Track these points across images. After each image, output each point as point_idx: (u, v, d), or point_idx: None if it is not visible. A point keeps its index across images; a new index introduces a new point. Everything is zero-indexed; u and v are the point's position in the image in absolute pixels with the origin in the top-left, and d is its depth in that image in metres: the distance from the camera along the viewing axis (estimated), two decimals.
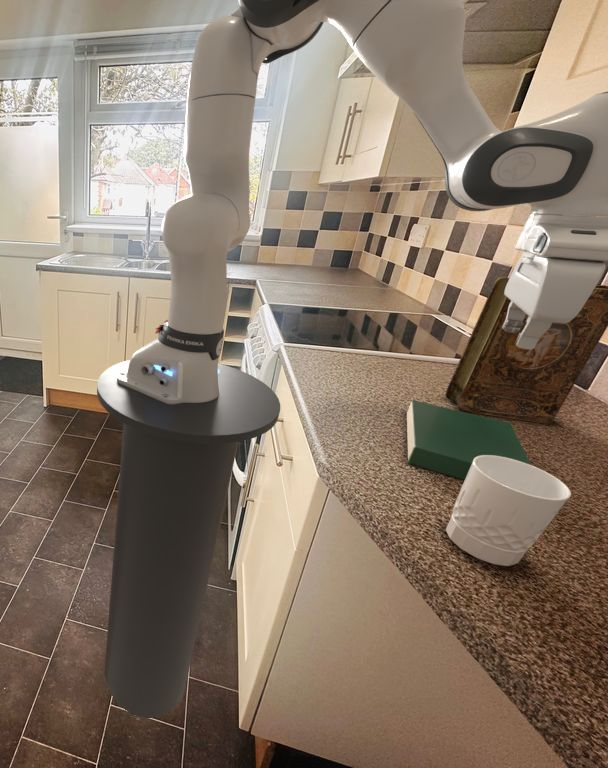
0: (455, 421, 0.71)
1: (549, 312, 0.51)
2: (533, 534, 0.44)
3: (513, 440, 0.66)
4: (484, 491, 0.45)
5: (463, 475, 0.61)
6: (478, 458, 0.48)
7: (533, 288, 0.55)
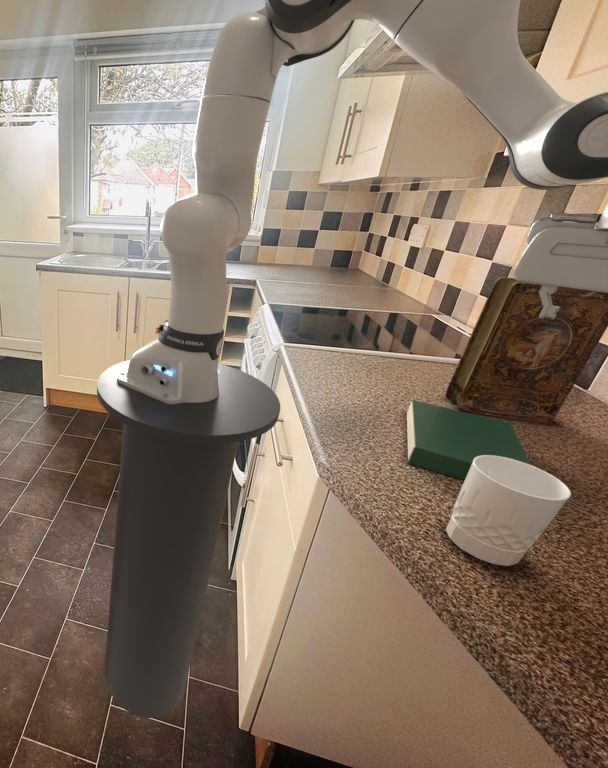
0: (455, 421, 0.71)
1: None
2: (533, 534, 0.44)
3: (513, 440, 0.66)
4: (484, 491, 0.45)
5: (463, 475, 0.61)
6: (478, 458, 0.48)
7: None
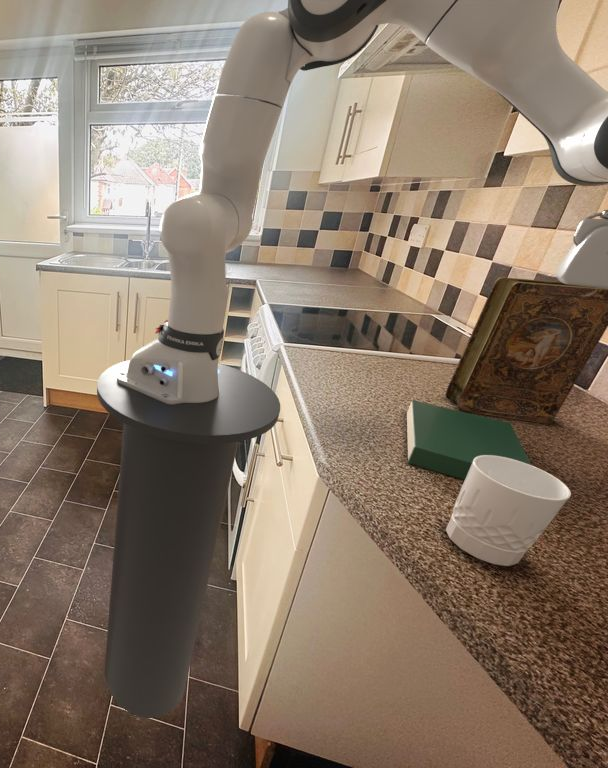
0: (455, 421, 0.71)
1: None
2: (533, 534, 0.44)
3: (513, 440, 0.66)
4: (484, 491, 0.45)
5: (463, 475, 0.61)
6: (478, 458, 0.48)
7: None
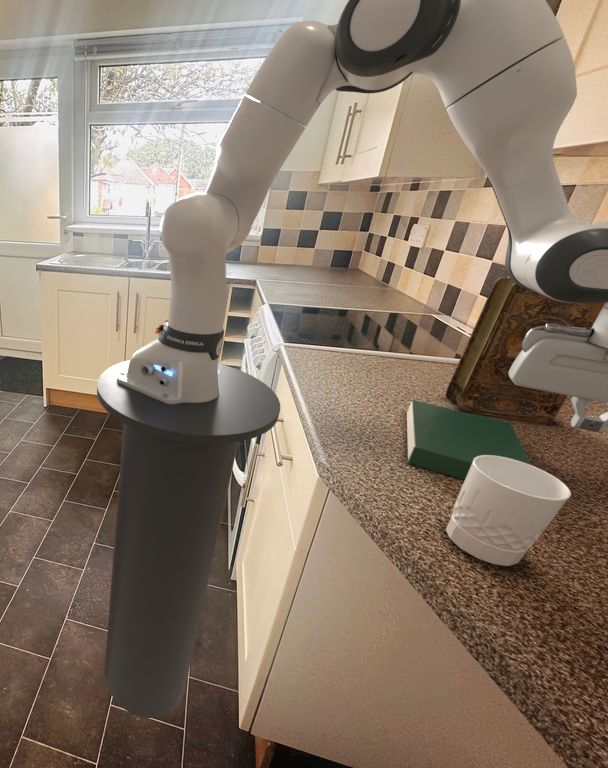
0: (455, 421, 0.71)
1: None
2: (533, 534, 0.44)
3: (513, 440, 0.66)
4: (484, 491, 0.45)
5: (463, 475, 0.61)
6: (478, 458, 0.48)
7: None
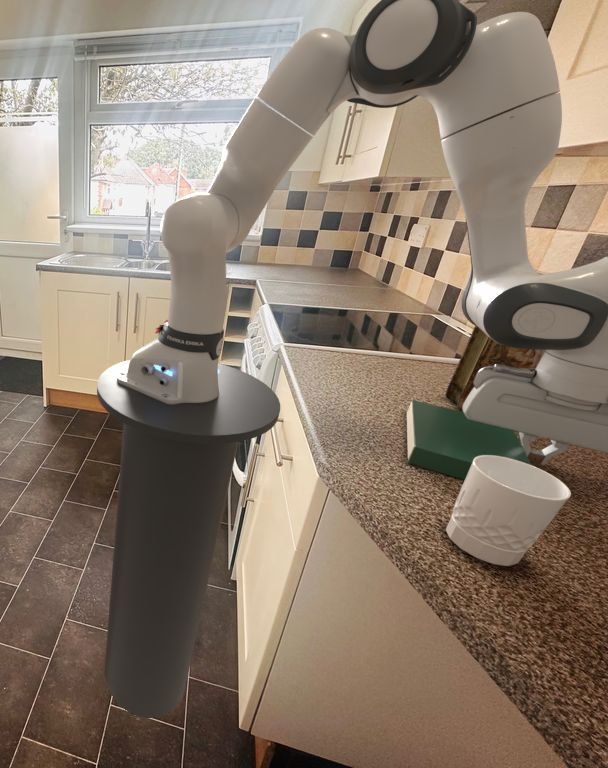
0: (454, 421, 0.71)
1: None
2: (533, 534, 0.44)
3: (513, 440, 0.66)
4: (484, 491, 0.45)
5: (463, 475, 0.61)
6: (478, 458, 0.48)
7: None
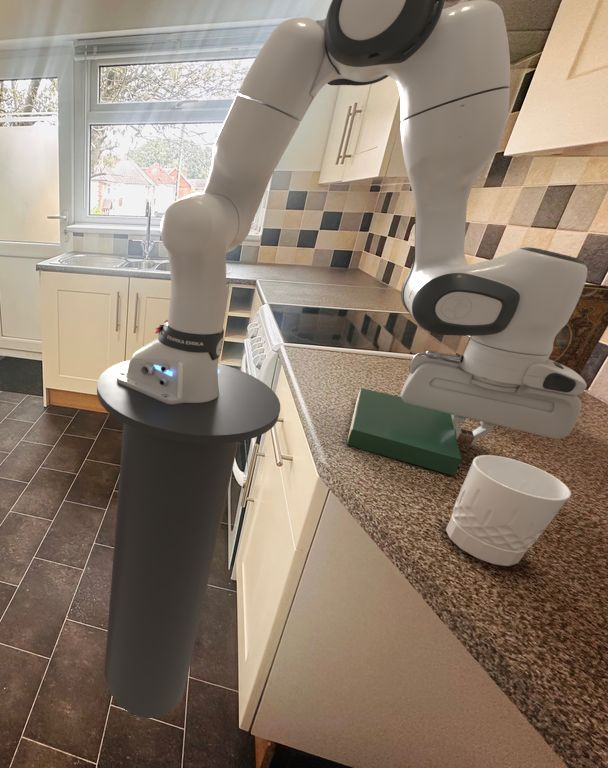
0: (396, 407, 0.75)
1: None
2: (533, 534, 0.44)
3: (447, 423, 0.70)
4: (484, 491, 0.45)
5: (395, 455, 0.65)
6: (478, 458, 0.48)
7: (527, 412, 0.61)
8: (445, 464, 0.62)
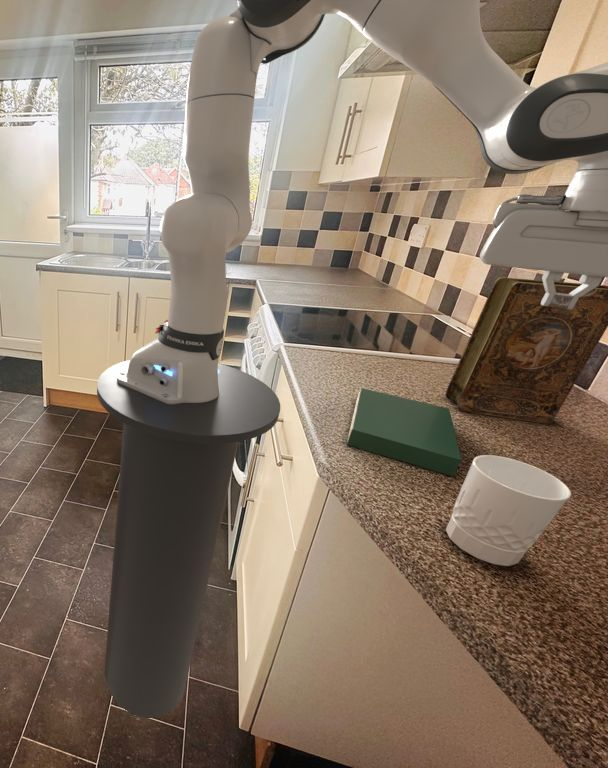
0: (396, 407, 0.75)
1: None
2: (533, 534, 0.44)
3: (447, 423, 0.70)
4: (484, 491, 0.45)
5: (395, 455, 0.65)
6: (478, 458, 0.48)
7: None
8: (445, 464, 0.62)
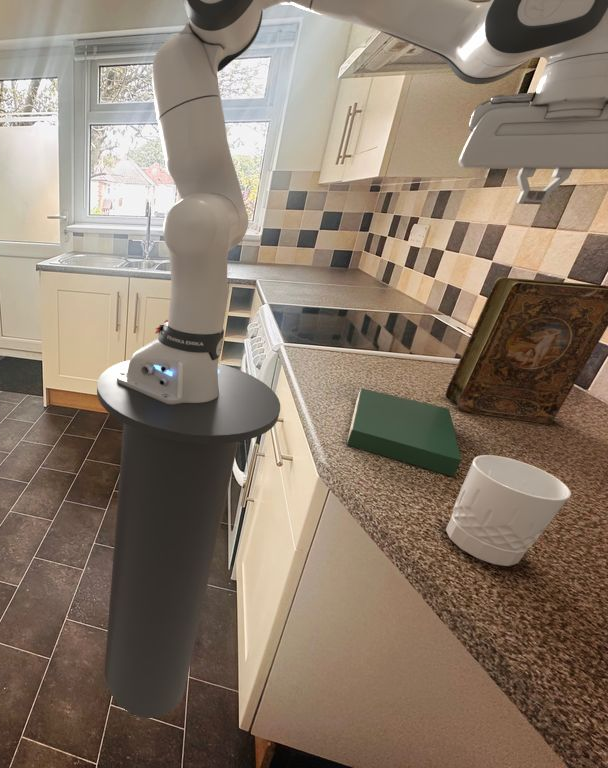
0: (396, 407, 0.75)
1: None
2: (533, 534, 0.44)
3: (447, 424, 0.70)
4: (484, 491, 0.45)
5: (395, 455, 0.65)
6: (478, 458, 0.48)
7: None
8: (445, 465, 0.62)
